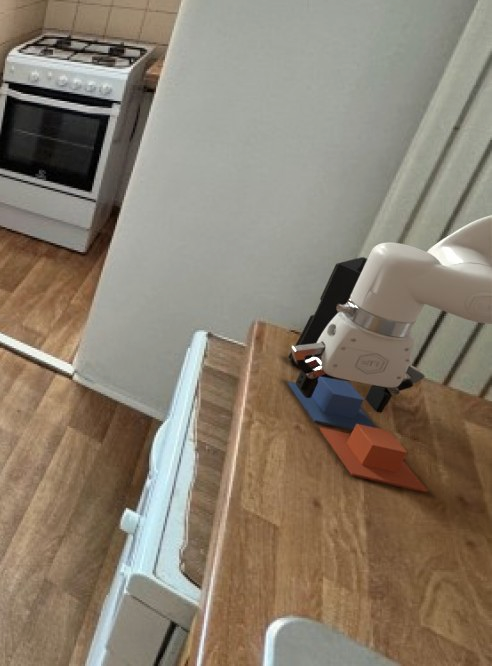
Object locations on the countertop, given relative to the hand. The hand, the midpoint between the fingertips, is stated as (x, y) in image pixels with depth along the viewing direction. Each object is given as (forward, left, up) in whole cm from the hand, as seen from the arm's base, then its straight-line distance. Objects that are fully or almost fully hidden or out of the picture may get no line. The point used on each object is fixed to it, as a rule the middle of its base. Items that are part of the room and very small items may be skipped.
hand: (337, 399), depth 102 cm
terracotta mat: (0, +10, -2) cm, 11 cm away
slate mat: (0, 0, -2) cm, 2 cm away
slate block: (0, 0, -2) cm, 2 cm away
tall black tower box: (-3, -12, -2) cm, 12 cm away
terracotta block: (0, +11, -2) cm, 11 cm away
